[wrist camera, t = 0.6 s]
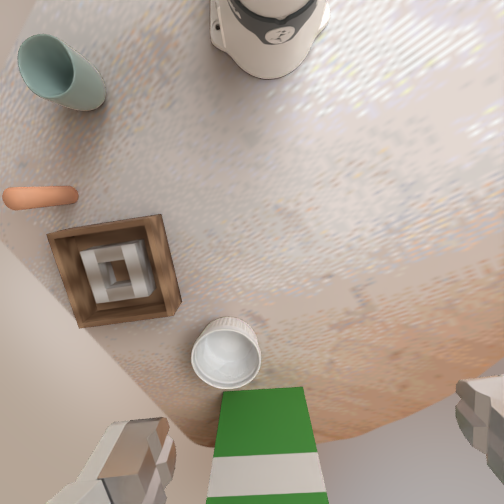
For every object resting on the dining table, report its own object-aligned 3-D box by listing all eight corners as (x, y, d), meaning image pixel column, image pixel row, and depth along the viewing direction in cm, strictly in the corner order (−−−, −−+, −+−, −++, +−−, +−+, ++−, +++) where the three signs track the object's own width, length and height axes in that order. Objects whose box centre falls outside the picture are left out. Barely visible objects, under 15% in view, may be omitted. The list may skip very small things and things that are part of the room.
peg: (58, 187, 50) (-2, 189, 38) (75, 184, 50) (20, 185, 38) (64, 204, 51) (7, 211, 39) (80, 202, 51) (28, 208, 39)
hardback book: (302, 386, 60) (331, 516, 37) (303, 414, 62) (332, 553, 39) (223, 391, 61) (203, 521, 38) (227, 418, 63) (209, 558, 39)
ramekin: (201, 367, 59) (194, 391, 53) (194, 312, 56) (186, 330, 49) (262, 364, 59) (263, 388, 52) (258, 309, 56) (259, 327, 49)
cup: (120, 107, 47) (85, 88, 37) (79, 122, 47) (34, 106, 38) (101, 57, 45) (59, 23, 35) (59, 73, 45) (5, 44, 36)
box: (69, 228, 52) (46, 234, 46) (161, 213, 51) (149, 218, 45) (97, 313, 56) (79, 328, 51) (182, 301, 55) (173, 315, 50)
